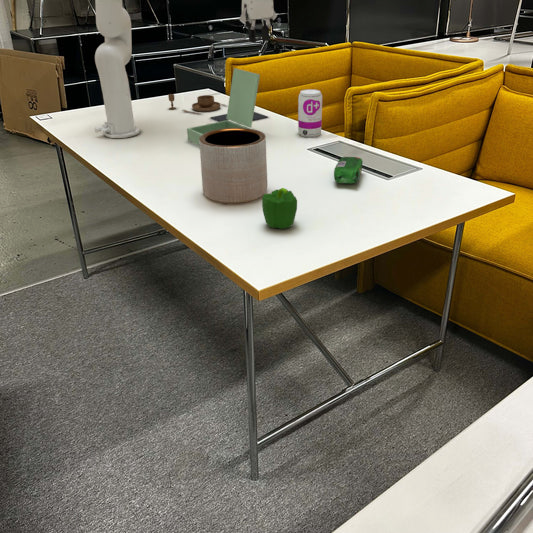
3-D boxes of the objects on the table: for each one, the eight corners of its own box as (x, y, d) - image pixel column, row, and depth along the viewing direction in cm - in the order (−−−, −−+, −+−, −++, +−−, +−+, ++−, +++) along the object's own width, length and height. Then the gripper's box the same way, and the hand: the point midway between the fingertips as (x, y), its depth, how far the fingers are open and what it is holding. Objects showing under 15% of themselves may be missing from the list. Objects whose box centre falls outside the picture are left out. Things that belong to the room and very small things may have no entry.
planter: (244, 210, 142) (241, 151, 135) (189, 197, 151) (184, 140, 143) (279, 188, 155) (279, 132, 148) (227, 177, 164) (224, 124, 156)
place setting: (204, 115, 225) (202, 100, 222) (167, 109, 235) (165, 95, 232) (229, 106, 238) (229, 91, 235) (193, 100, 247) (192, 87, 244)
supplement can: (321, 137, 196) (323, 94, 188) (298, 137, 196) (298, 94, 188) (320, 131, 203) (321, 88, 195) (297, 131, 203) (298, 89, 195)
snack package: (330, 188, 155) (331, 170, 152) (339, 169, 168) (340, 152, 165) (356, 190, 153) (357, 172, 150) (363, 170, 166) (364, 154, 163)
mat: (229, 125, 211) (229, 124, 211) (210, 118, 221) (210, 117, 221) (267, 117, 220) (267, 116, 220) (247, 110, 230) (247, 109, 230)
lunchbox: (209, 152, 184) (208, 138, 182) (188, 142, 194) (186, 128, 192) (250, 142, 192) (250, 128, 190) (228, 133, 203) (227, 120, 200)
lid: (258, 74, 183) (260, 74, 184) (233, 68, 194) (235, 68, 194) (249, 127, 190) (251, 127, 190) (226, 118, 200) (228, 118, 200)
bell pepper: (259, 220, 137) (258, 181, 132) (291, 216, 139) (291, 178, 134) (267, 234, 130) (266, 194, 125) (300, 230, 132) (301, 191, 127)
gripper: (271, -22, 185) (272, 37, 194) (228, -19, 176) (231, 42, 185) (285, -21, 180) (285, 39, 189) (242, -19, 171) (244, 45, 180)
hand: (259, 40), depth 187 cm, fingers open, 4 cm apart
